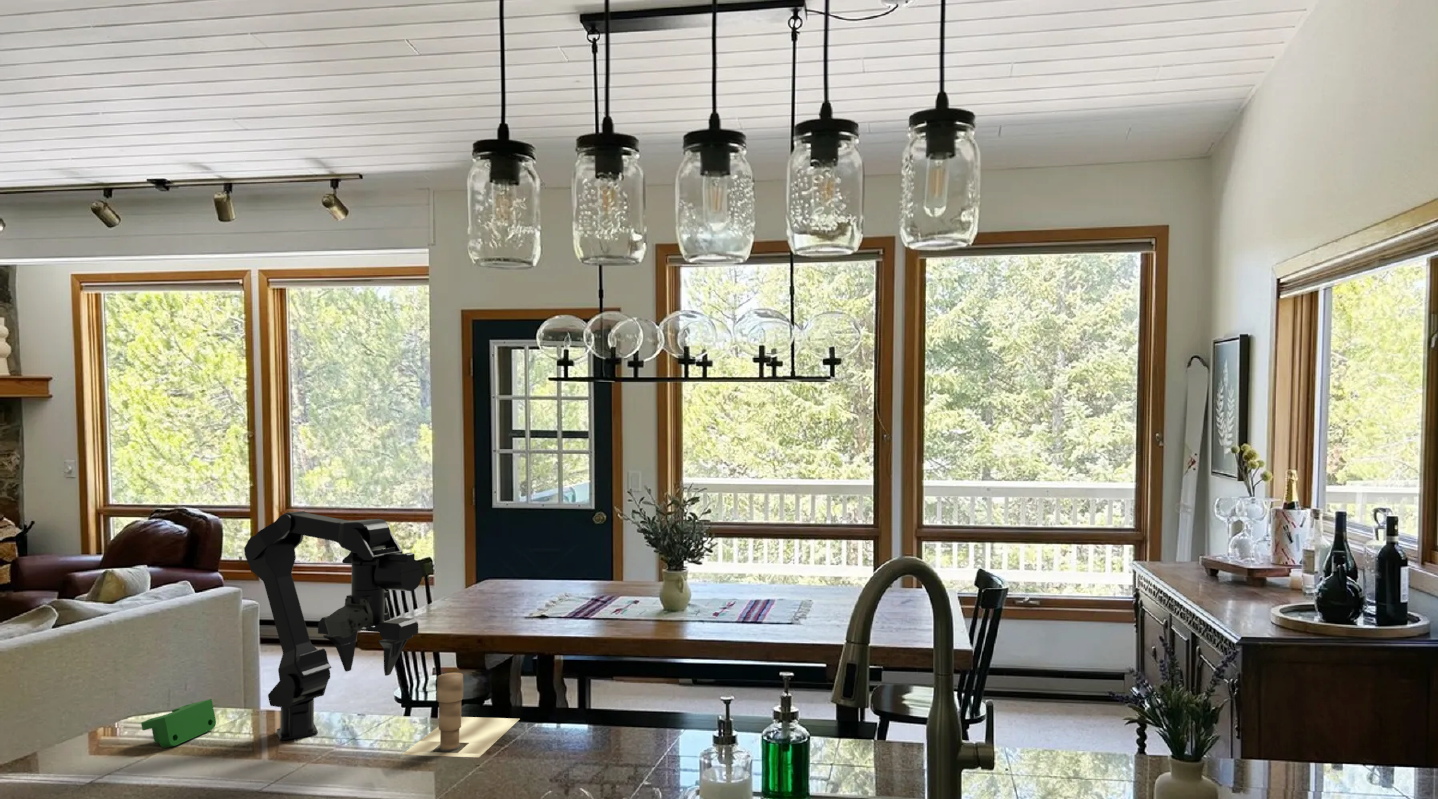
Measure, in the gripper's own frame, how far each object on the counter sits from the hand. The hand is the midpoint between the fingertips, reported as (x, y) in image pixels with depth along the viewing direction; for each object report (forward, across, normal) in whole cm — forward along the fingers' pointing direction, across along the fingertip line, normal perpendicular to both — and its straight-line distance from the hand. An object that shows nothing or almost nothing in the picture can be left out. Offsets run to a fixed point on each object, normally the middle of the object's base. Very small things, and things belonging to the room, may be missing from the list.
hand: (367, 673), depth 157 cm
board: (+13, +17, +6) cm, 22 cm away
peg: (+13, +18, 0) cm, 22 cm away
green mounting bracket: (+13, -37, -9) cm, 40 cm away
